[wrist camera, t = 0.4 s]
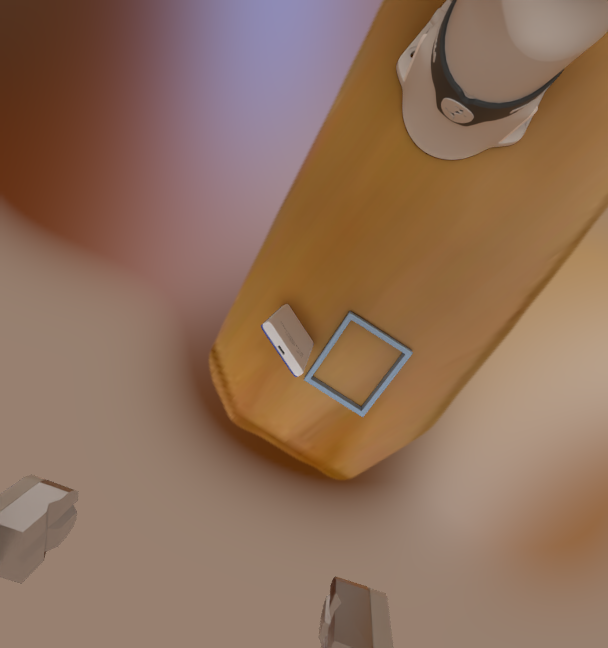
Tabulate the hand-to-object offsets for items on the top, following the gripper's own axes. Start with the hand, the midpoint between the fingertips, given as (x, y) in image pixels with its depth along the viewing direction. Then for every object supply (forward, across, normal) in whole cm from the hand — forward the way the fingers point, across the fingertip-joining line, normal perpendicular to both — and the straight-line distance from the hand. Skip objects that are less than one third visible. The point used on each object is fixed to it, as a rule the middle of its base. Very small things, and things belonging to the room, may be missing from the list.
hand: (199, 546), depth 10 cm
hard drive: (+44, +3, +5) cm, 44 cm away
